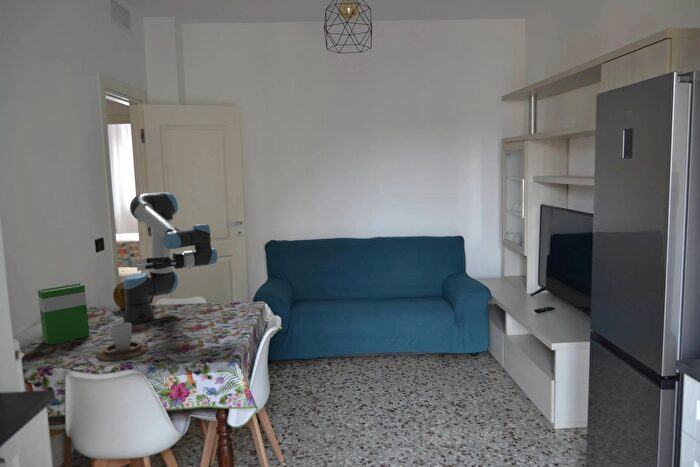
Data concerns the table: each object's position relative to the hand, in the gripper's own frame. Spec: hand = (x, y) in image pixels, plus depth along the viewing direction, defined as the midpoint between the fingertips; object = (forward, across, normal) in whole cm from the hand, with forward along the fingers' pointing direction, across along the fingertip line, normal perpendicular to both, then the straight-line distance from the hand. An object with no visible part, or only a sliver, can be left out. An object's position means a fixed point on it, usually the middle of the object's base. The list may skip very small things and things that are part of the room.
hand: (134, 265), depth 240 cm
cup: (+9, -10, -33) cm, 36 cm away
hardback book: (+28, +26, -34) cm, 51 cm away
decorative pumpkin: (-9, +65, -34) cm, 74 cm away
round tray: (+9, -13, -34) cm, 37 cm away
